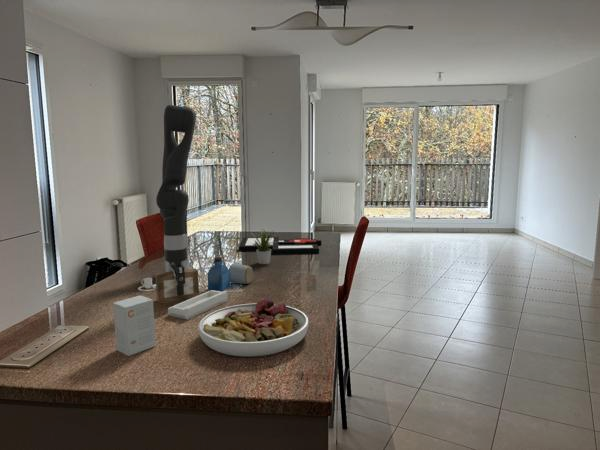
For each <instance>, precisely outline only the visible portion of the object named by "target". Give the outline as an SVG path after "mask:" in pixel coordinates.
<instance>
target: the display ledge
mask: <svg viewBox="0 0 600 450" xmlns="http://www.w3.org/2000/svg"><path fill="white" fill-rule="evenodd" d="M228 297H229V296H228V290H224V291H214V290H208V291H206V292H203V293H201V294H200V293H199V295H198V296H196V297H193V298H191V299H188V300H183V301H180V303H177V304H174V305H173V306H170V307H167V308H168V309H167V311H168V312H167V315H168V316H169V317H172V318H178V319H183V320H191V319H193V318H195V317H197V316H199V315H201V314H203V313H205V312H207V311H209V310H212V309H214V308H216V307H218V306H220V305H222V304H224V303H226V302H228V299H229V298H228Z"/></svg>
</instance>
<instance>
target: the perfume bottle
mask: <svg viewBox="0 0 600 450" xmlns="http://www.w3.org/2000/svg"><path fill="white" fill-rule="evenodd" d="M223 263H224V261H223V256H216V257H213V265H212V266H210V269H209V270H208V272H207V290H208V291H210V290H214V291H220V292H223V291H227V289H229V288H231V282H230V271H229V268H228V266H227V265H225V264H224V265H223Z"/></svg>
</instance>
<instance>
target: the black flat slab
mask: <svg viewBox="0 0 600 450" xmlns="http://www.w3.org/2000/svg"><path fill="white" fill-rule="evenodd" d="M256 237H257V238H258V240H259V242H260V243H261V236H260V237H259V236H256ZM272 237H273V236H271V237H269V238H270V239H271V238H272ZM266 238H267V237H266ZM254 240H255V241H256V242H257V243H258V244H259V242H258V241H257V239H256V238H255V237H254V236H253V237H251V236H250V237H249V236H247V237H244V236H243V238H242V240H241V241H240V243H239V245H238V251H239V252H256V250H257V249H258V247H259V246H258V247H257V246H255V245H253V244H255V241H254ZM275 241H277V242H275ZM268 242H269V243H270V242H274V243H270V244H272V245H270V246H269V245H268V247H267V249H271V253H272V254H271V255H308V254H309V255H315V254H317V255H318V254H320V248H319V246H322V240H321V239H316V238H312V239H311V238H310V237H308V238H305V237H304V238H302V237H301V238H299V237H298V238H294V239H280V237H279V236H274V237H273V238H272V239H271V240H269V241H268ZM269 243H268V244H269ZM256 245H257V244H256ZM259 245H260V244H259Z"/></svg>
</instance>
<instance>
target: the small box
mask: <svg viewBox="0 0 600 450" xmlns="http://www.w3.org/2000/svg"><path fill="white" fill-rule="evenodd" d="M112 308H113V309H112V311H113V321H114V333H115V344H116V351H118V352H120V353H122V354H124V355H126V356H127V357H130V356H133V355H136V354H138V353H141V352H143V351H146V350H148V349H151V348H154V347H156V346H157V341H156V340H157V339H156V336H157V335H156V325H155V312H154V311H155V310H154V299H152V298H149V297H147V296H144V295H137V296H133V297H128V298H125V299H122V300H118V301H115V302H112Z"/></svg>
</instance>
